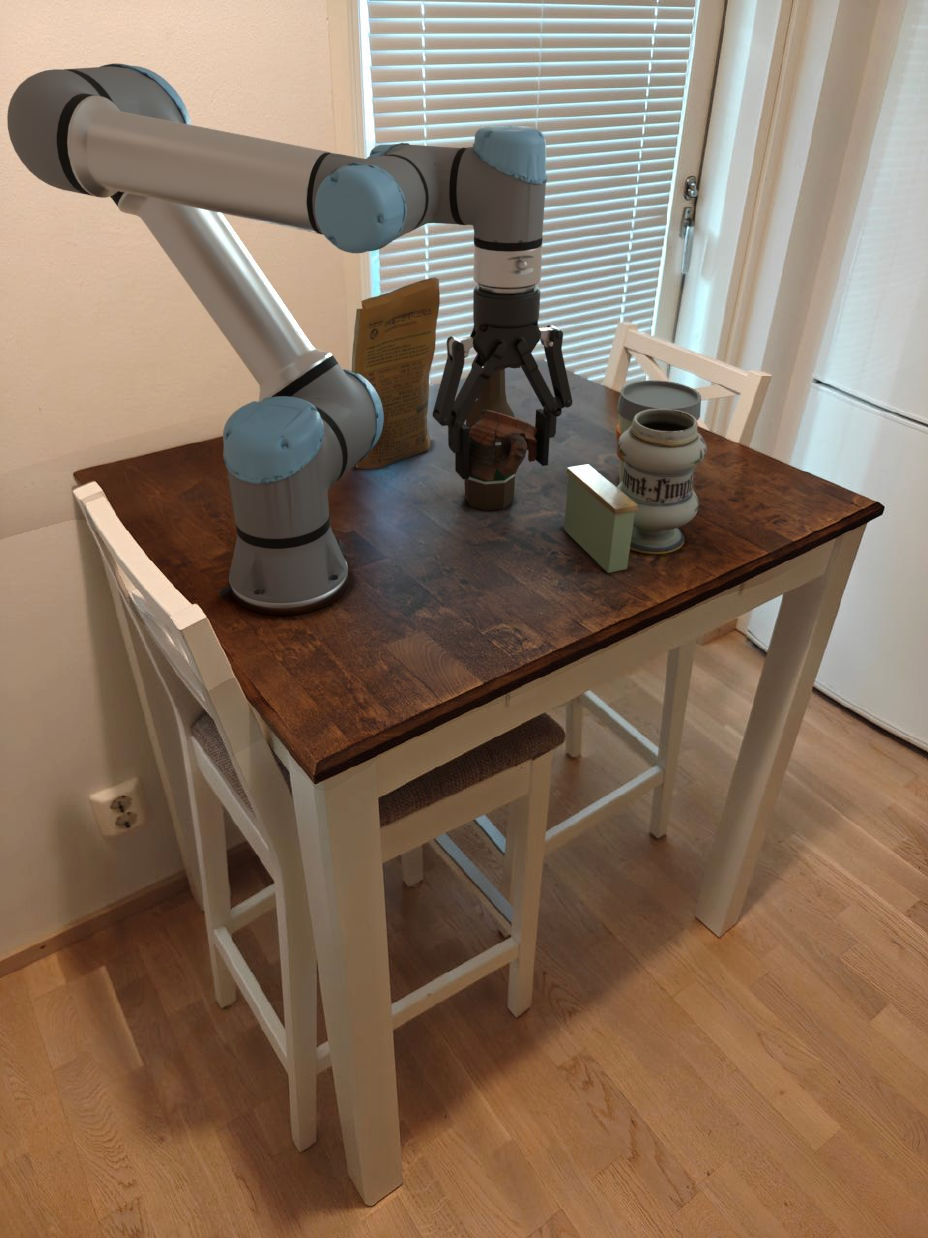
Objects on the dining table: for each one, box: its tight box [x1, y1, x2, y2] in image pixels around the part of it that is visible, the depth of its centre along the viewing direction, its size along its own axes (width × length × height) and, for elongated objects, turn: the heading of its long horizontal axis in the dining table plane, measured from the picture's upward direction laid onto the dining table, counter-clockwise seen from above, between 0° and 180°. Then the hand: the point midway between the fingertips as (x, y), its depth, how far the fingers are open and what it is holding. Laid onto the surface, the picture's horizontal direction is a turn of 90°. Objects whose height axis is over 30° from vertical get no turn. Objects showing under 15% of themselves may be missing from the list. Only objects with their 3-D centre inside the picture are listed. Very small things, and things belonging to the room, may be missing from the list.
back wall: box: [563, 463, 638, 574], centre depth 122 cm, size 3×13×10 cm, turn 22°
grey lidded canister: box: [615, 379, 702, 484], centre depth 138 cm, size 13×13×15 cm
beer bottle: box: [463, 363, 516, 511], centre depth 130 cm, size 8×8×24 cm
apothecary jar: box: [616, 409, 708, 555], centre depth 123 cm, size 12×12×18 cm
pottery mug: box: [469, 410, 538, 482], centre depth 110 cm, size 12×10×8 cm
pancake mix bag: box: [351, 276, 441, 470], centre depth 142 cm, size 7×19×28 cm, turn 134°
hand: (501, 467), depth 112 cm, fingers closed on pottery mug, 10 cm apart
